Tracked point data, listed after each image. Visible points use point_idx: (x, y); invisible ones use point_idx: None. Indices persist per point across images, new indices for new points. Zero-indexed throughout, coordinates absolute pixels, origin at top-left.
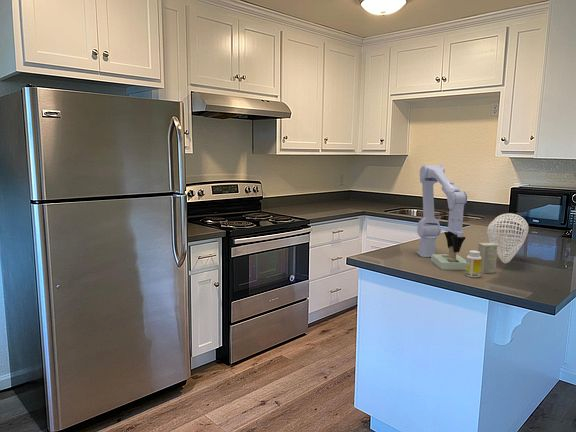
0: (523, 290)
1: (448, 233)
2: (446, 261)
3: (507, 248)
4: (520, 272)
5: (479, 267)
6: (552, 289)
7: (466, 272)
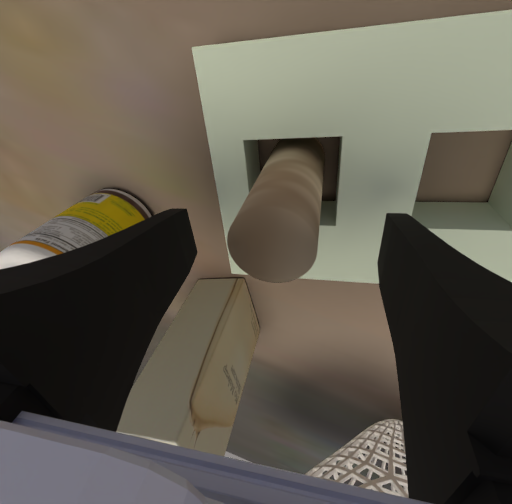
0: None
1: (479, 423)
2: (252, 115)
3: None
4: (249, 394)
5: None
6: None
7: (94, 194)
